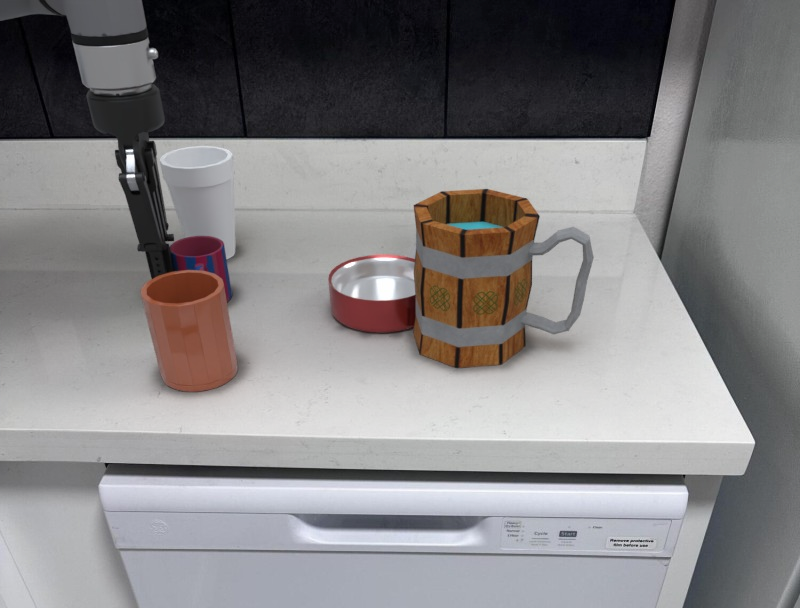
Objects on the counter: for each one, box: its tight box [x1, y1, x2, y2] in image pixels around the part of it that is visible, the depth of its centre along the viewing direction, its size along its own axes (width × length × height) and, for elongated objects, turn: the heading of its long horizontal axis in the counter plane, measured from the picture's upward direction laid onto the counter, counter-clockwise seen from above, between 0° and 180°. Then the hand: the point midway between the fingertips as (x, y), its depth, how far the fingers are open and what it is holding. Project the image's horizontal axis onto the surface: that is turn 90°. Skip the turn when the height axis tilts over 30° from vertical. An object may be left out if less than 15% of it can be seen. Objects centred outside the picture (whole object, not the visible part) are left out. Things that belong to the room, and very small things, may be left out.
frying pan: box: [327, 243, 416, 334], centre depth 103 cm, size 32×13×6 cm, turn 164°
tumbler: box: [140, 270, 239, 393], centre depth 85 cm, size 8×8×10 cm
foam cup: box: [159, 145, 236, 260], centre depth 108 cm, size 10×9×13 cm
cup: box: [169, 236, 233, 303], centre depth 98 cm, size 7×10×7 cm
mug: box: [412, 188, 595, 369], centre depth 87 cm, size 20×14×15 cm
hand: (168, 297), depth 99 cm, fingers closed
